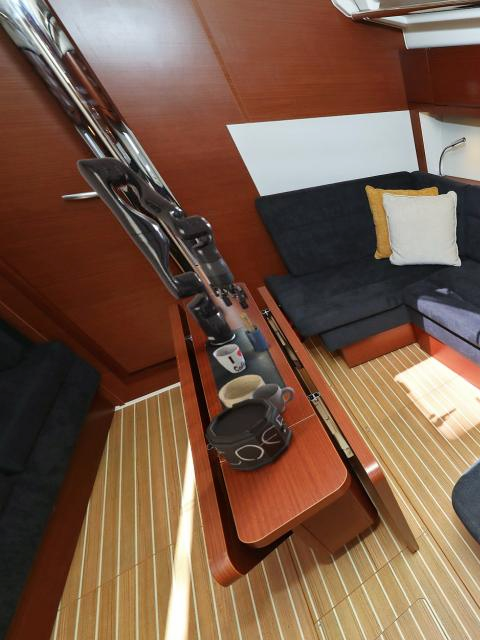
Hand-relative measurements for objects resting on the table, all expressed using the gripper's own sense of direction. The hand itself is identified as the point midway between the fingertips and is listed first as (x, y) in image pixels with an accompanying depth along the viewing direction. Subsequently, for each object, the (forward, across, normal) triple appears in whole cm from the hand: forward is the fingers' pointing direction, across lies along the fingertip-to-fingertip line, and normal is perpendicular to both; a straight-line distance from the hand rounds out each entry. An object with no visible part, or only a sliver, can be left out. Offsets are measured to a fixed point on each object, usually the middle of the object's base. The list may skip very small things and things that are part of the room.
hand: (238, 307), depth 134 cm
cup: (+22, -2, +14) cm, 26 cm away
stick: (+21, 0, 0) cm, 21 cm away
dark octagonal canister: (+22, -46, +42) cm, 66 cm away
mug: (+22, -37, +27) cm, 51 cm away
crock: (+22, 0, 0) cm, 22 cm away
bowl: (+22, -23, +27) cm, 41 cm away
